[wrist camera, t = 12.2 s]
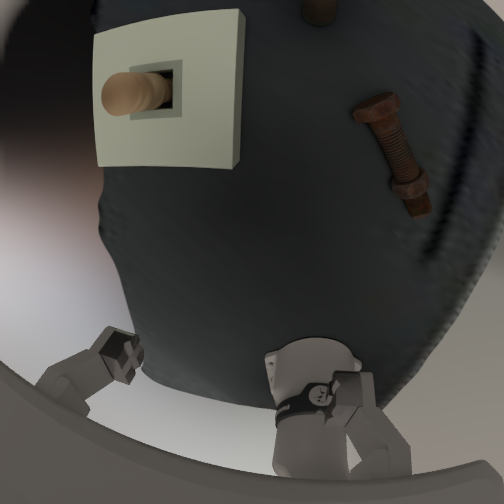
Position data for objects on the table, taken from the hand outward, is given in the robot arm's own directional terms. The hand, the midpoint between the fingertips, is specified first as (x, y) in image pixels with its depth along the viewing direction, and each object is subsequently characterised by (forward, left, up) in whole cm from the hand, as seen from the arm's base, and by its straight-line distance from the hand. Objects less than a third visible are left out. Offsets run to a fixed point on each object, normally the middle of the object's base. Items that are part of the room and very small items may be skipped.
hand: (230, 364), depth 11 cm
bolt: (+4, -14, -27) cm, 31 cm away
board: (+10, +14, -27) cm, 32 cm away
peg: (+10, +14, -27) cm, 32 cm away
